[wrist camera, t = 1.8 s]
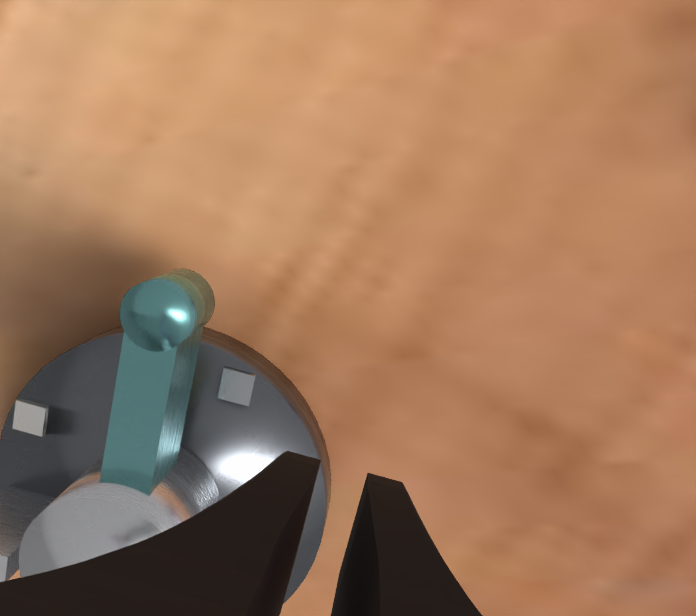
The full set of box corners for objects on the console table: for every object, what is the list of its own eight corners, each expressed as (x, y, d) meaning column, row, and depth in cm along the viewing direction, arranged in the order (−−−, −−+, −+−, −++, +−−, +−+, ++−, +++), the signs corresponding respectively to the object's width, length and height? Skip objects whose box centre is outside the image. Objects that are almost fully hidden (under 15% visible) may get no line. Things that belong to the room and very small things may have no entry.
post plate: (292, 645, 22) (263, 761, 18) (9, 564, 23) (-86, 657, 18) (365, 371, 20) (353, 427, 15) (45, 284, 20) (-56, 316, 16)
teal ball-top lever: (207, 577, 20) (164, 664, 16) (79, 541, 20) (10, 619, 17) (271, 284, 18) (237, 313, 14) (126, 246, 18) (57, 264, 14)
